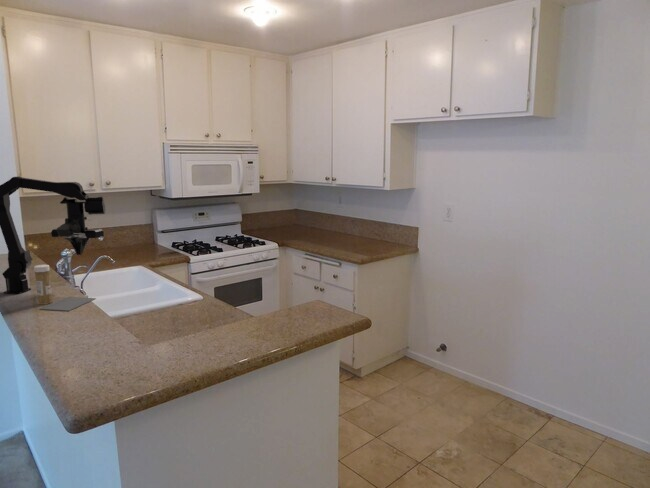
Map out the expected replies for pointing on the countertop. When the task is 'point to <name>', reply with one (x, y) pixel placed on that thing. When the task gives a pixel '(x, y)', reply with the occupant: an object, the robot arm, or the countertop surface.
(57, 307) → the mat
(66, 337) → the countertop surface
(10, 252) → the robot arm
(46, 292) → the sprinkles bottle
